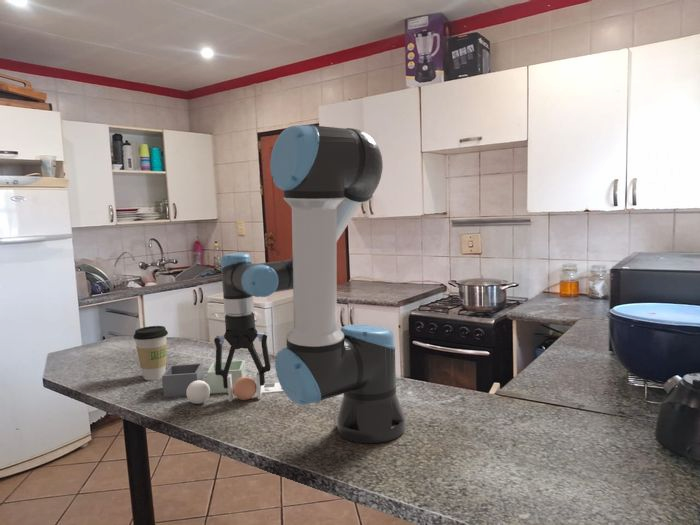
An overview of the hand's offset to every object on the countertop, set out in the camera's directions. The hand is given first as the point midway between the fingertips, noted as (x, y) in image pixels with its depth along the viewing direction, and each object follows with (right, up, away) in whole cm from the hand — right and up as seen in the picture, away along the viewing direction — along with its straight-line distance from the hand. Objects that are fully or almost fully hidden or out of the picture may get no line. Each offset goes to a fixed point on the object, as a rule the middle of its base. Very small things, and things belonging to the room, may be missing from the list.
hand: (245, 398), depth 134 cm
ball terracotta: (0, +3, 0) cm, 3 cm away
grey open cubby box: (-19, 0, +9) cm, 21 cm away
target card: (+7, +1, +8) cm, 11 cm away
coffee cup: (-32, +1, +22) cm, 39 cm away
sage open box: (-7, +1, +10) cm, 12 cm away
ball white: (-12, +2, -2) cm, 12 cm away
